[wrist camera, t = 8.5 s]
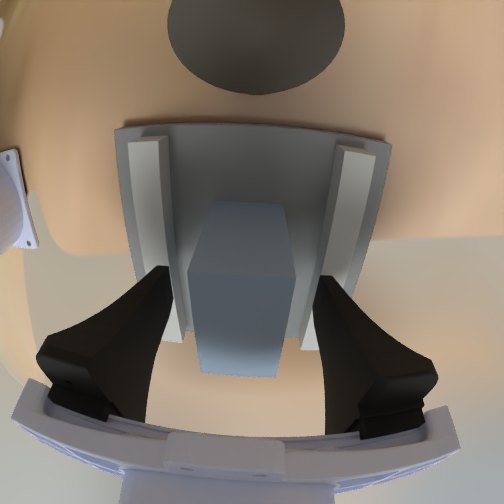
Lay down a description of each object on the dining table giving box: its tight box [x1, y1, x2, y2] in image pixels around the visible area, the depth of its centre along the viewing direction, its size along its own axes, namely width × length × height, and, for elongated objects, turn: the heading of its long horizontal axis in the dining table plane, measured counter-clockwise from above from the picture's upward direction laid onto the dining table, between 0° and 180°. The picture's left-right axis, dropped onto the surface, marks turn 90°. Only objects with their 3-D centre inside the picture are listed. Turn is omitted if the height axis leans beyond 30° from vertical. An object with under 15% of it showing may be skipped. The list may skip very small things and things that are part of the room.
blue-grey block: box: [187, 201, 296, 378], centre depth 13 cm, size 4×6×6 cm, turn 177°
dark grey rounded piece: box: [168, 0, 345, 95], centre depth 8 cm, size 5×5×6 cm
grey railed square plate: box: [114, 122, 392, 350], centre depth 15 cm, size 14×14×2 cm
